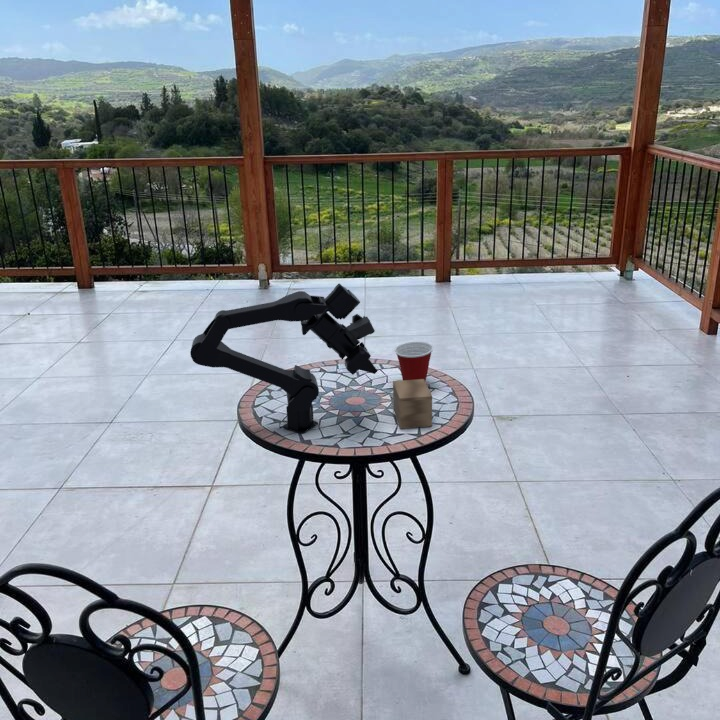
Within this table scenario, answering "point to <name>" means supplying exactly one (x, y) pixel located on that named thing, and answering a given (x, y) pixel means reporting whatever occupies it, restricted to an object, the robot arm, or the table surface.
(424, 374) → the plastic cup
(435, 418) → the table surface
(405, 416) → the brown box
